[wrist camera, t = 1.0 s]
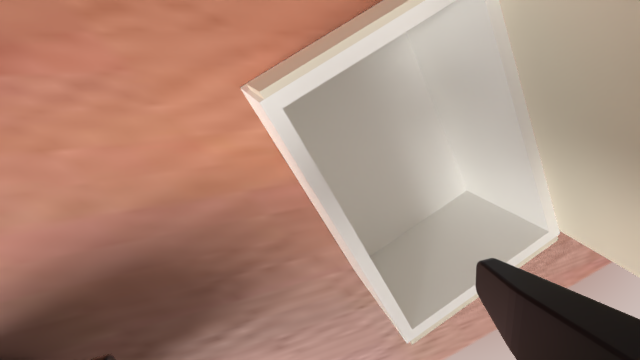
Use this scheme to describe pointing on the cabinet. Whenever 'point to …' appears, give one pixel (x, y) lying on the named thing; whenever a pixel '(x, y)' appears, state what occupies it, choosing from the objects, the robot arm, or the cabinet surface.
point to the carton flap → (585, 114)
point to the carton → (414, 151)
